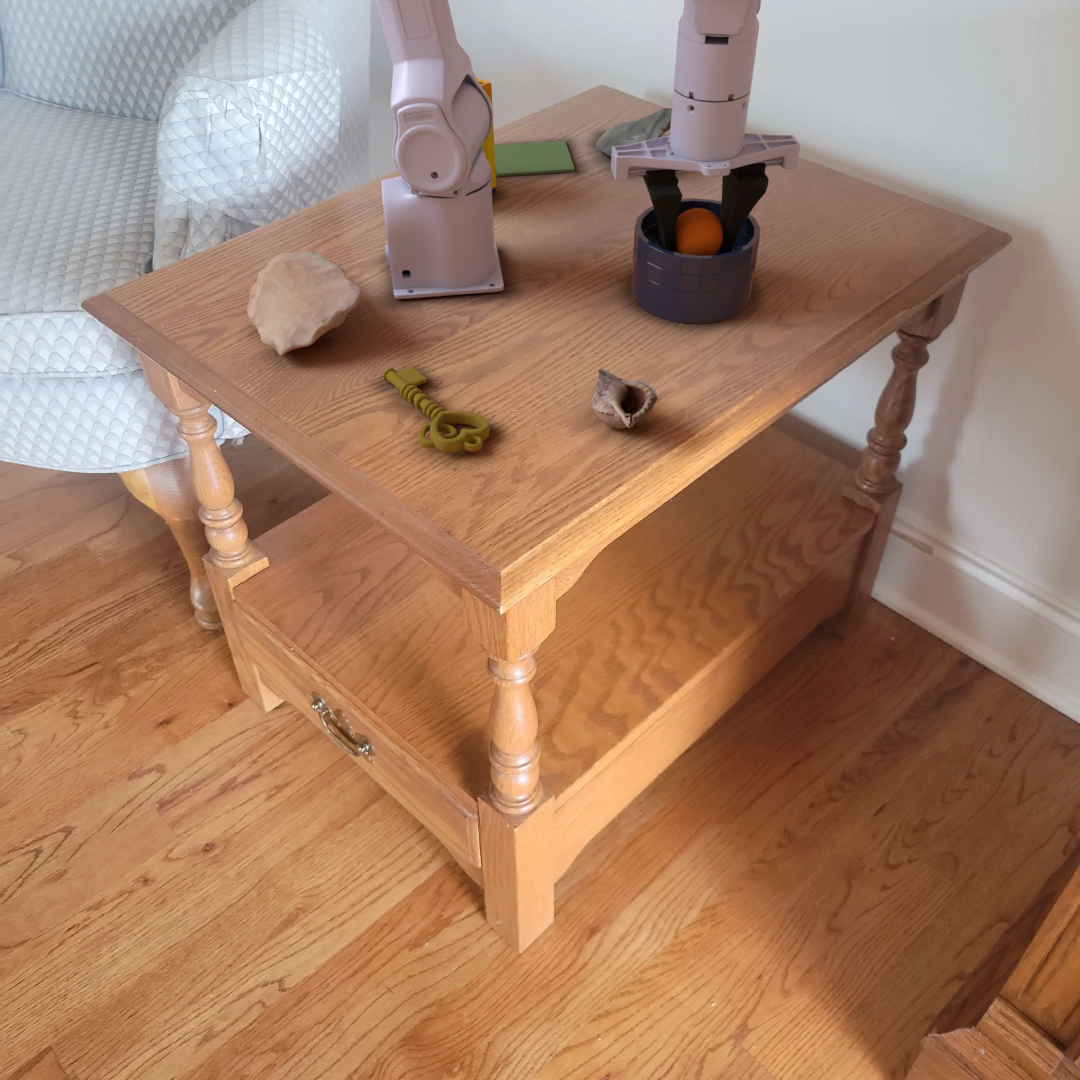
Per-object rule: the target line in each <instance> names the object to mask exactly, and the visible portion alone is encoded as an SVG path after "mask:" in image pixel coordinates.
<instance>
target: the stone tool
mask: <svg viewBox="0 0 1080 1080" xmlns="http://www.w3.org/2000/svg"><path fill="white" fill-rule="evenodd" d="M362 295H363V291H362V288H361V286H360V285H359V284H357V283H355V282H353V281H352V280H350V279H349V278H348V277H347V276H346V273H345V270H344V269H343V267H341V266H339V265H338V264H335V263H333V261H331V260H330V259H327V257H326V256H324V255H322V254H319V253H317V252H316V251H313V250H308V251H303V252H294V251H292V252H285V253H281V254H277V255H276V256H274V257H273V258H272V259H271V260H270V261H269V262H268V264H266V266H265V267H263V268H262V269H261V270H259V272H258V274H257V279H256V281H255V282H254V283H253V285H252V286H251V287H250V289H249V302H248V303H247V305H246V314H247V316H248V321H249V323H250V325H252V327H255V328H256V330H257V333H258V334H259V337H260V341H261V342H262V344H263V345H266V346H268V347H271V348H272V349H274V350H275V351H276V352H277V354H278V355H279V356H284V355H285V354H287V353H288V352H291V351H293V350H297V349H300V348H304V347H310V346H311V345H313V344H314V343H315V342H316V341H317V340H319V339H320V337H322V336H323V335H324V334H326V333H327V332H329V331H331V330H332V329H334V328H339V327H340V326H341V325H343V324H344V323H345V319H346V316H347V315H348V314H350V313H351V311H352V310H353V309H354V308H356V307H357V305H358V304H359V303H360V301H361V299H362Z"/></svg>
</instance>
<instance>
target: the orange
mask: <svg viewBox="0 0 1080 1080" xmlns="http://www.w3.org/2000/svg"><path fill="white" fill-rule="evenodd" d="M723 237H724V233H723V227H722V224H721V222H720V220H719V219H718V217H717V216H716V215H715V214H714V213H712V212H711V211H709V210H706V209H702V208H693V209H690V210H687V211H685V212H683V213H682V214H681V215H679V216H678V218H677V224H676V240H675V252H676V253H680V254H685V255H697V256H709V255H716V254H717V252H718V251H719V250H720V248H721V245H722V243H723Z"/></svg>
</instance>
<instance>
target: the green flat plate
mask: <svg viewBox="0 0 1080 1080" xmlns="http://www.w3.org/2000/svg"><path fill="white" fill-rule="evenodd" d="M494 151H495V172H496V177H497V178H498V177H514V176H527V175H542V174H557V173H559V174H560V173H571V172H576V171H575V169H576V168H575V165H574V162H573V160H572V159H573V158H572V157H571V154H570V151H569V148H568V145H567V142H566V139H565V140H549V141H535V142H533V141H532V142H521V143H503V144H494Z"/></svg>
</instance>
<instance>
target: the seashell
mask: <svg viewBox="0 0 1080 1080" xmlns="http://www.w3.org/2000/svg"><path fill="white" fill-rule="evenodd" d="M597 377H598V378H597V379H598V380H597V382H596V384H595V392H594V394H593V396H591V397H592V398H591V401H592V406H591V407H592V409H593V410H594V413H595V415H596V416H597V418H598V419H599V420H600V421H601V422H602V423H603V424H604V425H606V426H608V427H610V428H614V429H626V428H628V429H631V428H633V427H634V425H635V424H637V423H638V424H639V425H641V423H642V422H643V420H644V418H645V416H646V415H648V414H649V413H650V412H651V411H652V410H653V408H654V406H655V404H656V402H657V401H658V400H659V396H658V395H657V392H656V390H655V389H654V388H653V387H652V386H651V385H650V384H649V383H648V382H644V381H637V380H636V381H635V380H628V379H623V378H620V377H618V376H617V375H615V374H614V373H611V372H609V371H607V370H606V369H604V368H603V367H600V369H599V370H598V376H597Z"/></svg>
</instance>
